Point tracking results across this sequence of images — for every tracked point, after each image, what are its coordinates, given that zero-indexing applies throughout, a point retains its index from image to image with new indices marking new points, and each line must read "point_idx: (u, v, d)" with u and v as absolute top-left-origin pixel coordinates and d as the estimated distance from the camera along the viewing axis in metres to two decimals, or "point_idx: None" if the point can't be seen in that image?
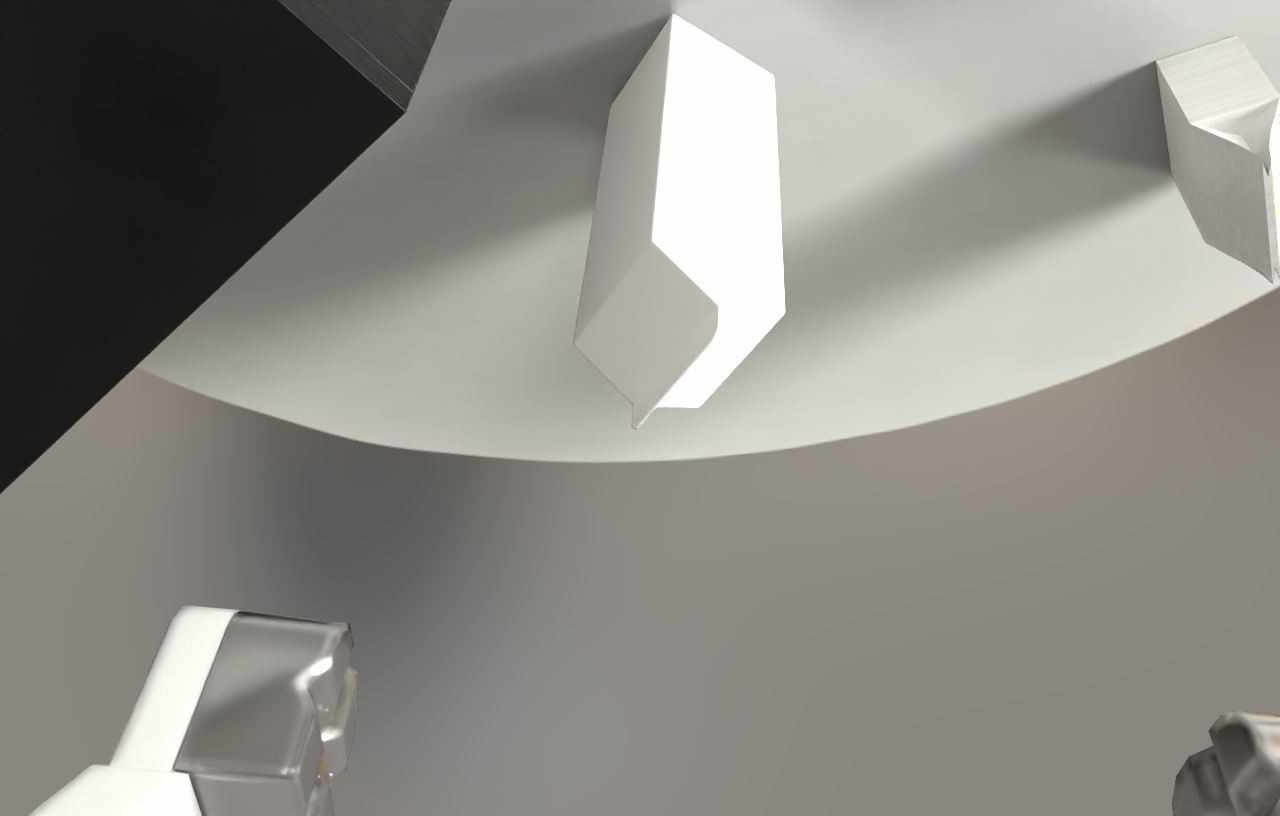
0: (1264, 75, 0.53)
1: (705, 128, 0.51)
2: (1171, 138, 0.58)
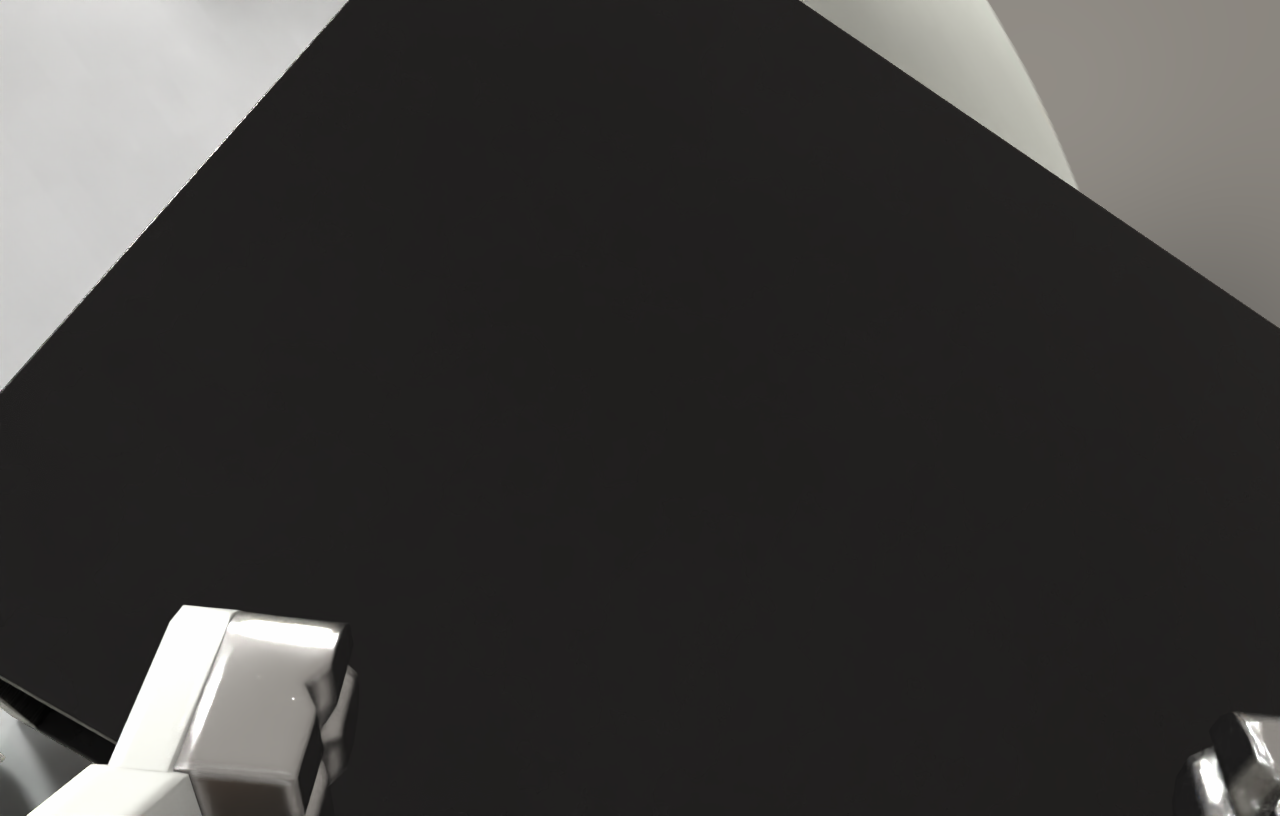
0: None
1: None
2: None
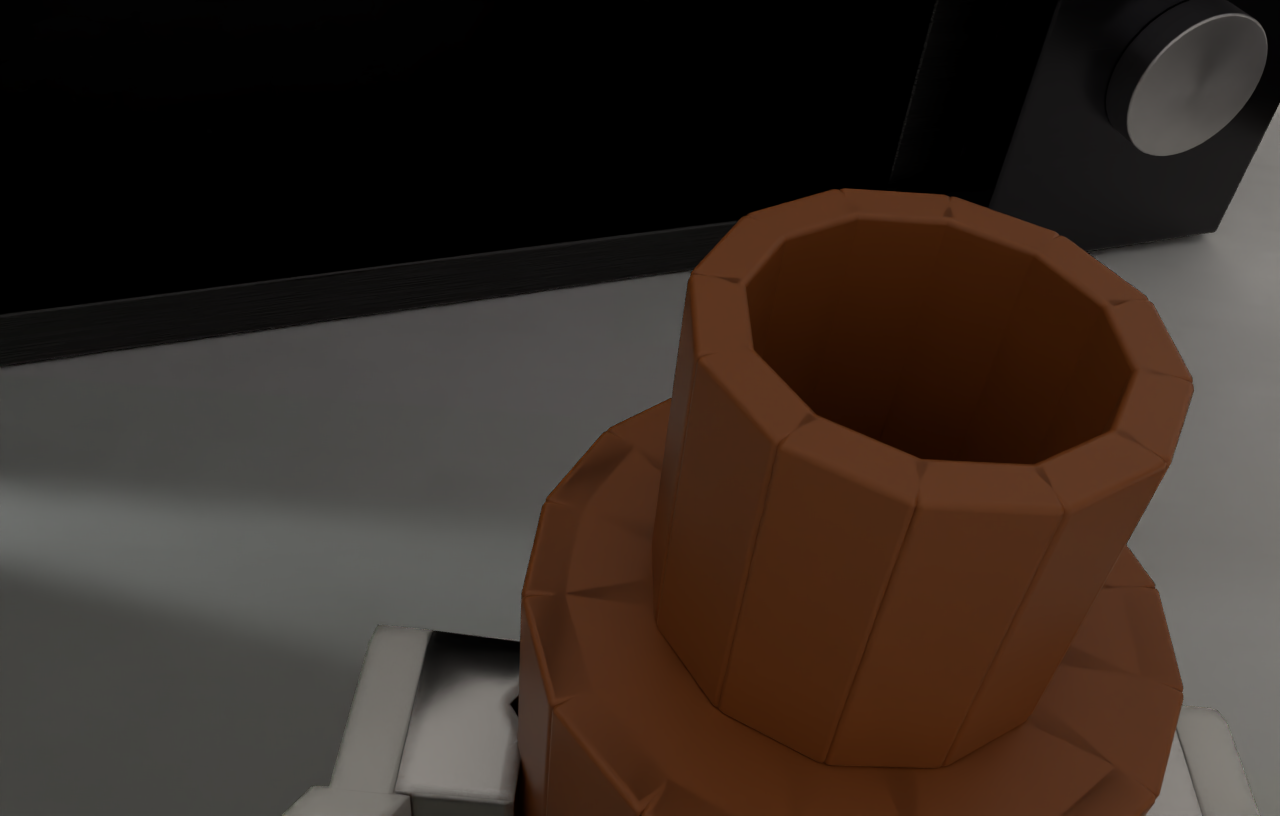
0: None
1: None
2: None
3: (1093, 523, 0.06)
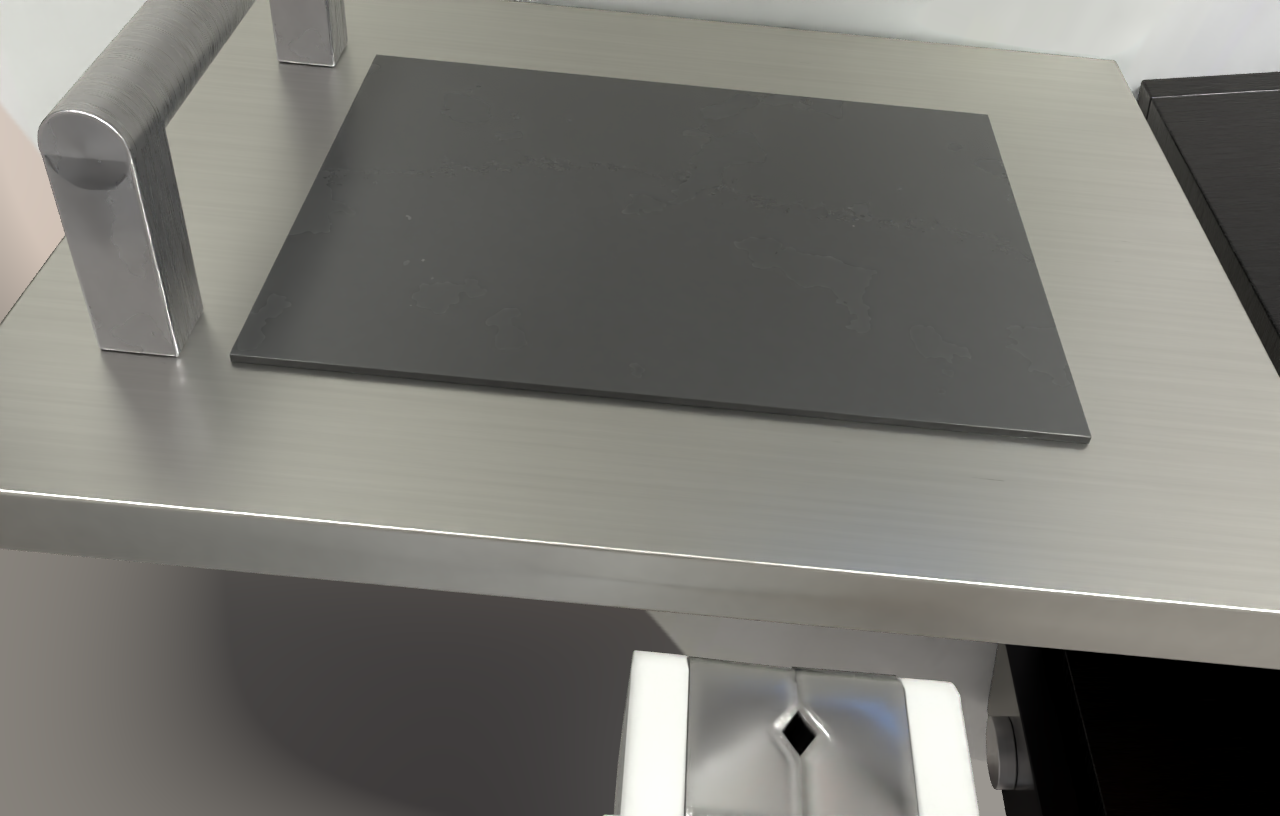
0: None
1: None
2: None
3: None
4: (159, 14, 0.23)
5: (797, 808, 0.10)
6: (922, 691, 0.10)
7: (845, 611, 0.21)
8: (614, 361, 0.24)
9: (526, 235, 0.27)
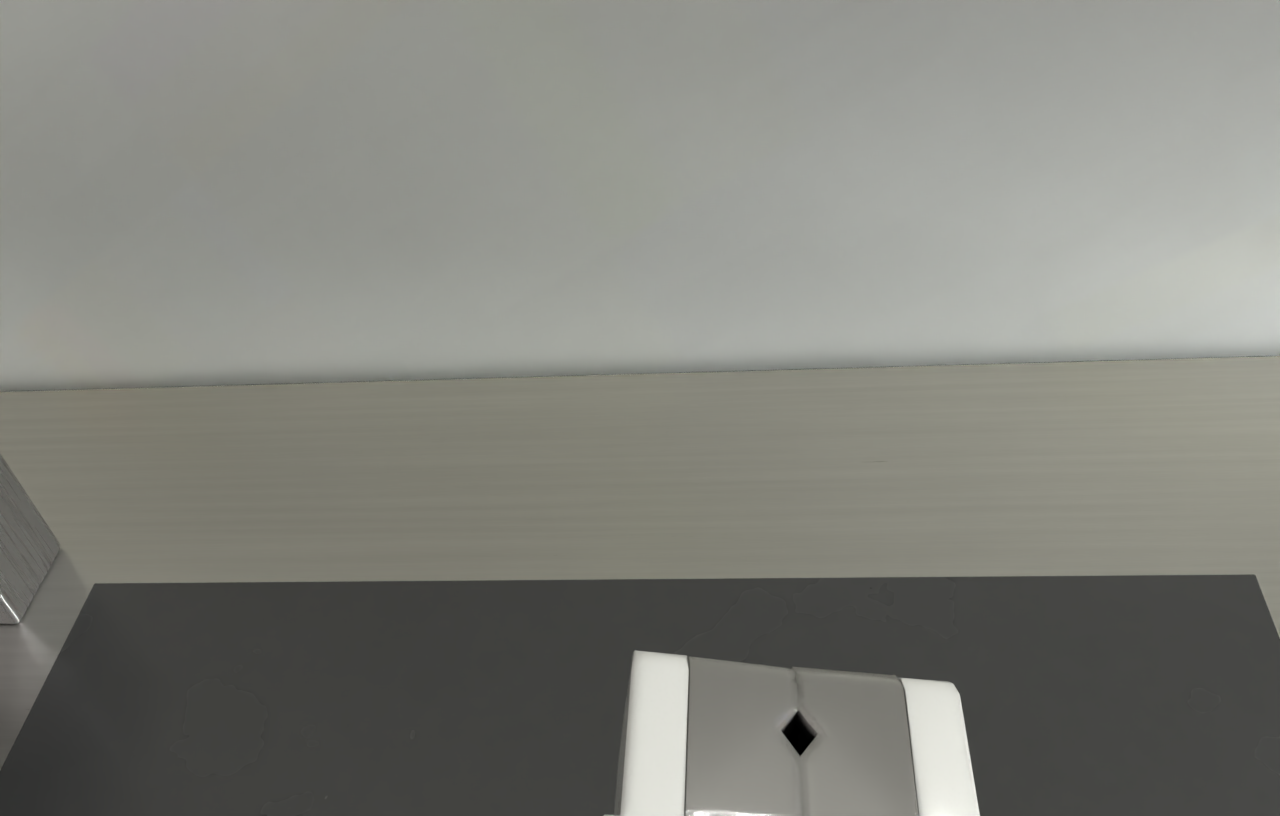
0: None
1: None
2: None
3: None
4: None
5: (797, 808, 0.10)
6: (922, 691, 0.10)
7: None
8: None
9: None
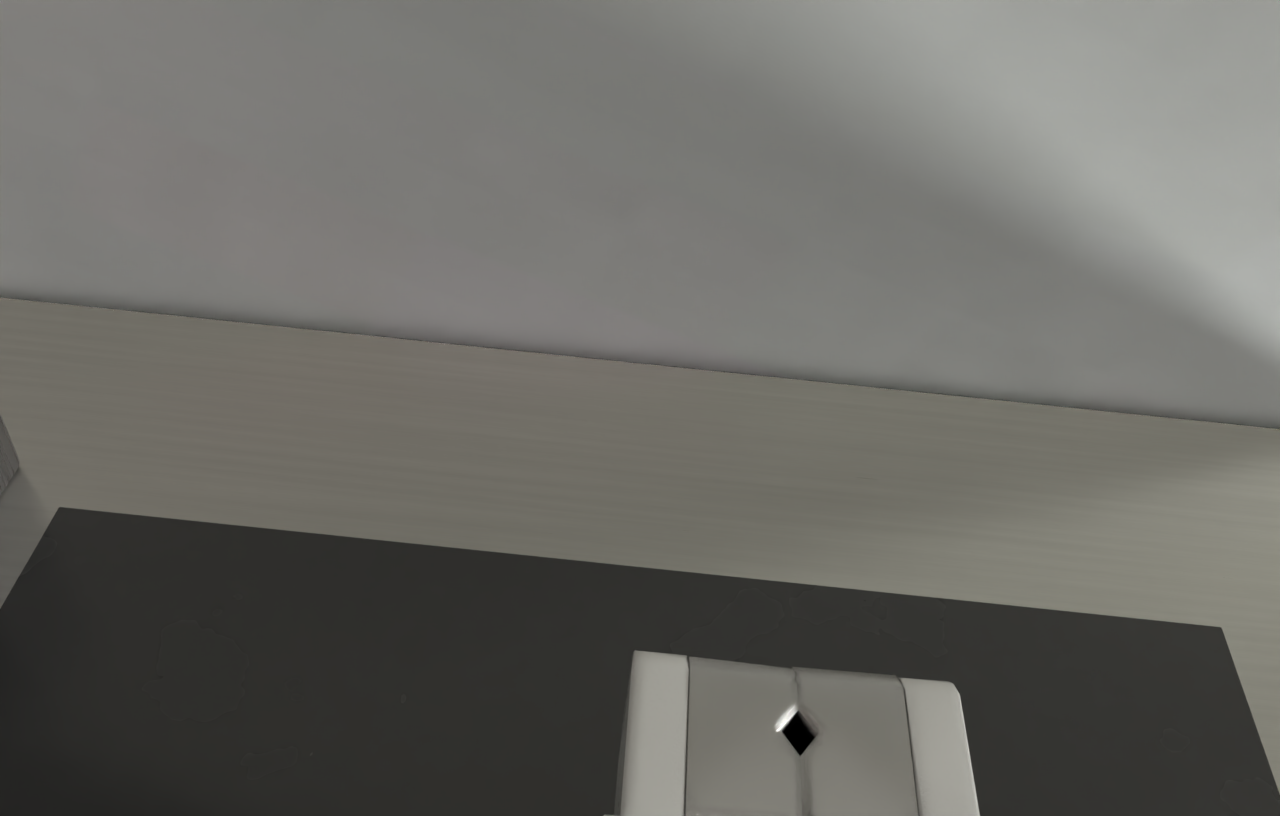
0: None
1: None
2: None
3: None
4: None
5: (797, 808, 0.10)
6: (922, 691, 0.10)
7: None
8: None
9: None
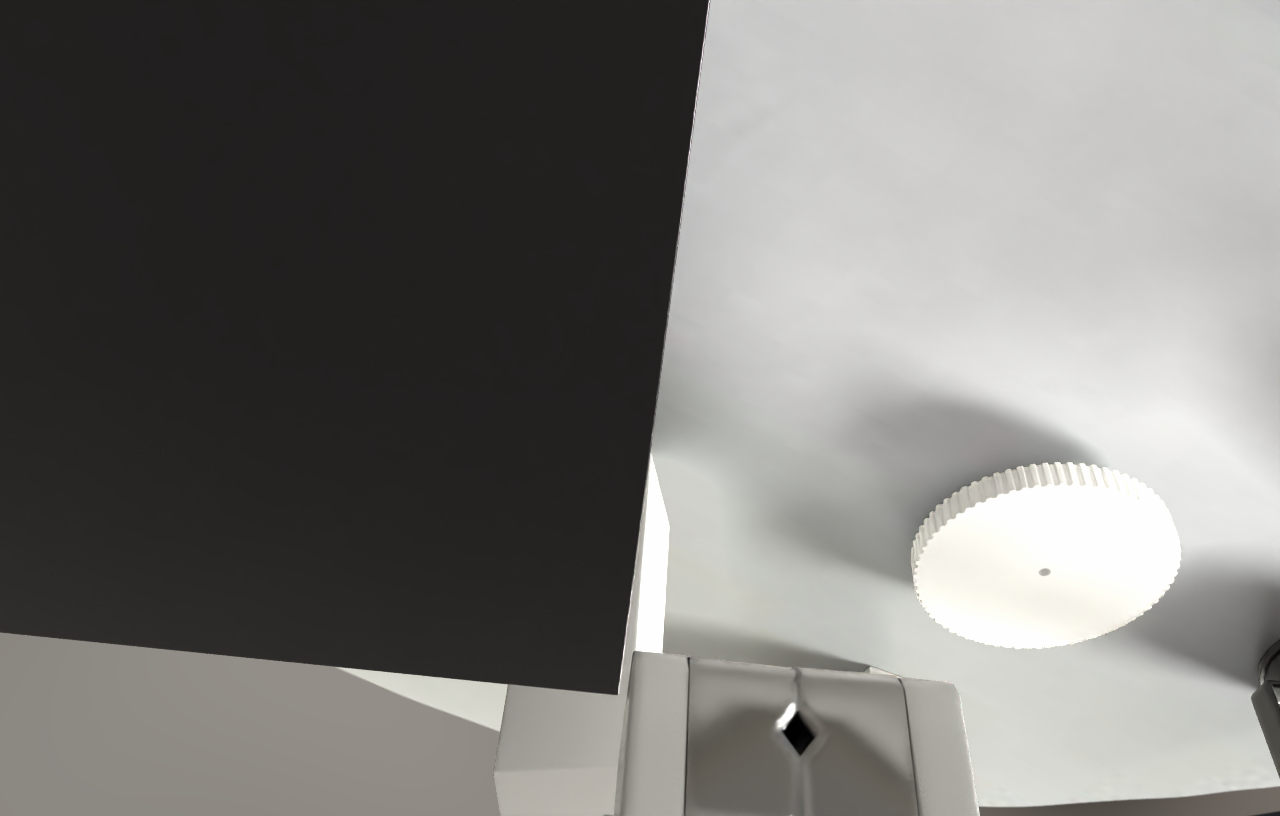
0: None
1: (649, 608, 0.59)
2: None
3: None
4: None
5: (797, 808, 0.10)
6: (922, 691, 0.10)
7: None
8: None
9: None
